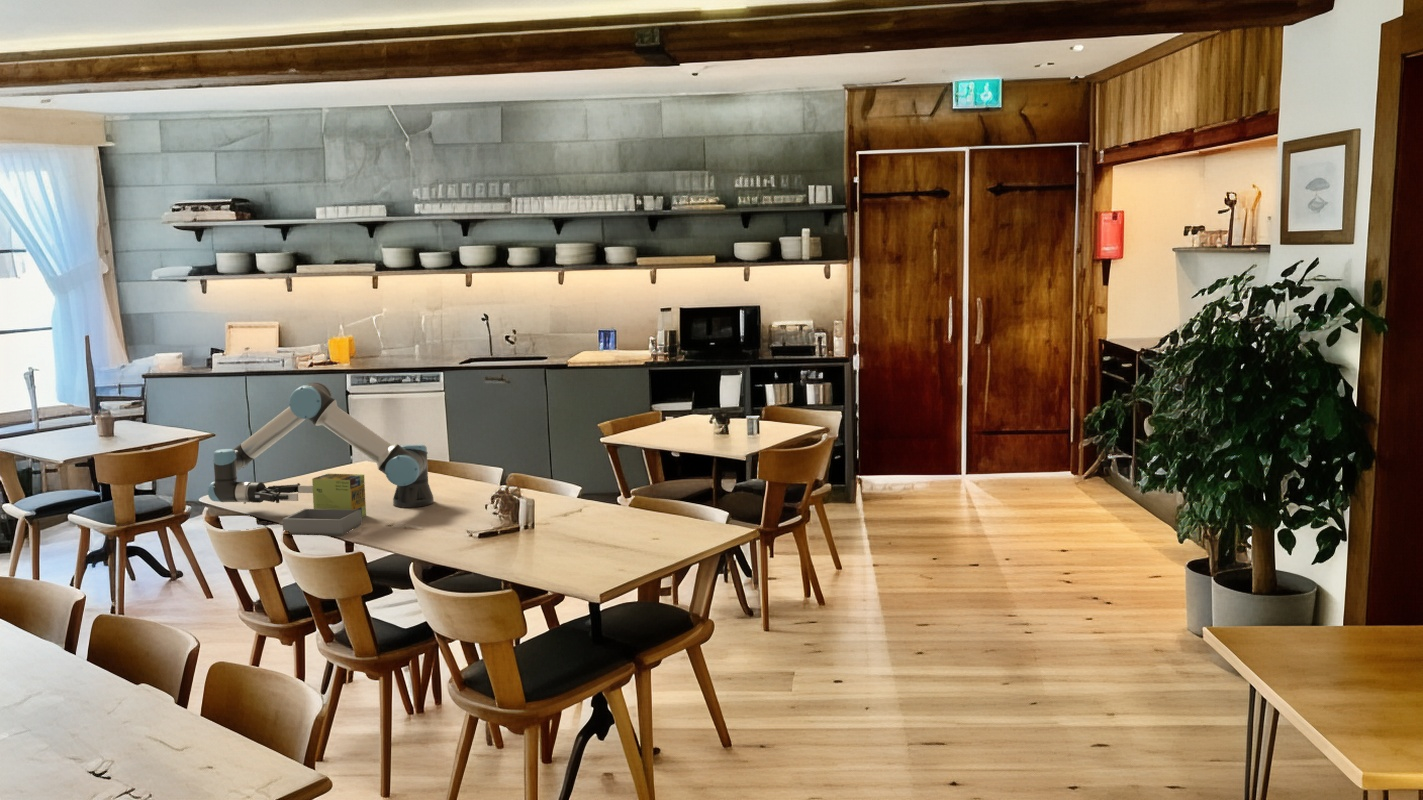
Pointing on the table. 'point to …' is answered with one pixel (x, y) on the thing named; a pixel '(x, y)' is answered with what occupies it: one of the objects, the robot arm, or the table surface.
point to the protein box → (339, 492)
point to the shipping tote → (322, 522)
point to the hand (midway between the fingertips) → (306, 493)
